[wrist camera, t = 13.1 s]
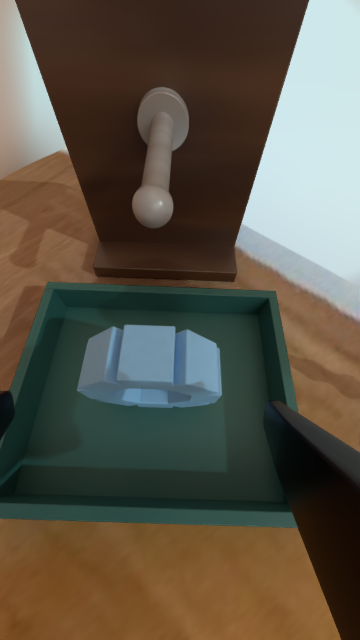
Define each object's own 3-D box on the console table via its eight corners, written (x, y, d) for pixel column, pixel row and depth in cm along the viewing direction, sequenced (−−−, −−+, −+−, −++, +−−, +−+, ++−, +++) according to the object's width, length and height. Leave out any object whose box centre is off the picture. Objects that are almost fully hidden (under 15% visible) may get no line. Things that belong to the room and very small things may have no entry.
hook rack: (238, 334, 19) (392, 68, 6) (84, 328, 19) (-127, 43, 6) (229, 236, 24) (301, -29, 11) (107, 231, 24) (24, -43, 11)
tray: (292, 513, 14) (320, 529, 11) (4, 504, 14) (-36, 517, 11) (262, 311, 20) (276, 290, 17) (64, 303, 20) (47, 281, 17)
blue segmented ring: (209, 409, 16) (232, 384, 10) (101, 405, 16) (55, 378, 10) (208, 371, 17) (228, 327, 11) (107, 368, 17) (70, 321, 11)
